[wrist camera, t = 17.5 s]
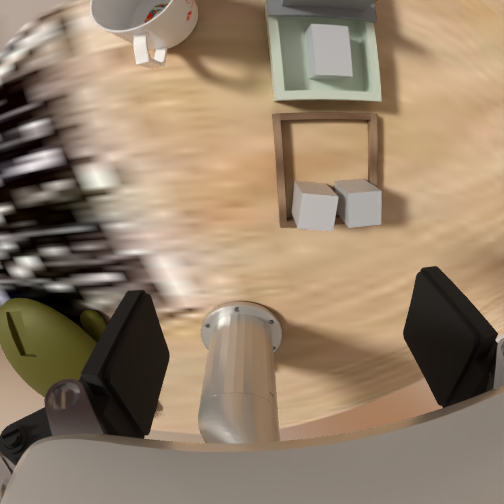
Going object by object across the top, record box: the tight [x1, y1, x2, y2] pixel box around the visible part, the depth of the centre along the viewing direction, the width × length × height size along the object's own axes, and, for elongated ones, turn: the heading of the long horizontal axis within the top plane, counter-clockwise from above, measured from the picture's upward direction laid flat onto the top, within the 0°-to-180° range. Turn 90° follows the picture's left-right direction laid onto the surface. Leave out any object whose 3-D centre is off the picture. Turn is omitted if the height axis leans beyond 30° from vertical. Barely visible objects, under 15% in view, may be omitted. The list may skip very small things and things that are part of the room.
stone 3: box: [334, 179, 382, 228], centre depth 34 cm, size 4×4×6 cm
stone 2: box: [291, 181, 339, 231], centre depth 34 cm, size 4×4×6 cm
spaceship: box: [0, 298, 156, 411], centre depth 47 cm, size 35×31×10 cm
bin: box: [265, 4, 382, 102], centre depth 27 cm, size 12×12×4 cm
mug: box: [90, 0, 198, 69], centre depth 22 cm, size 12×9×11 cm
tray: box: [272, 112, 378, 228], centre depth 35 cm, size 14×13×1 cm
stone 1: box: [305, 24, 353, 80], centre depth 26 cm, size 4×4×6 cm
